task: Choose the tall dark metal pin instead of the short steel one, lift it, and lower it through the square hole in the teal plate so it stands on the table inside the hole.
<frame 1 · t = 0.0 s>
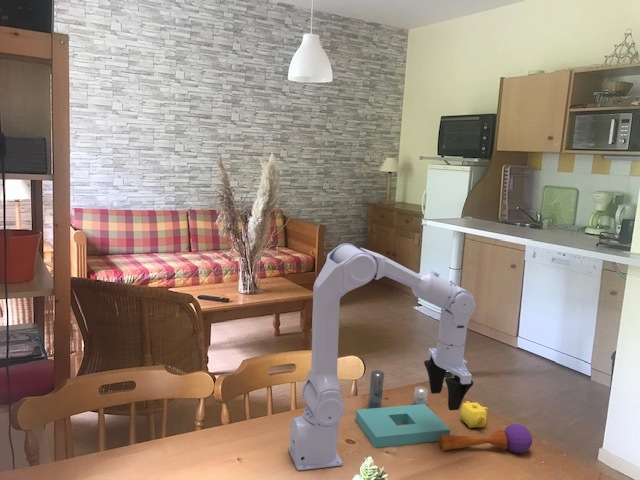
hand: (444, 400, 115), 10 cm above the table, tool pointing down, fingers open, 7 cm apart
teapot: (474, 425, 126), on the table
kendama: (484, 451, 115), on the table
short pin: (419, 405, 133), on the table
tall pin: (374, 407, 131), on the table
hole plate: (401, 429, 121), on the table
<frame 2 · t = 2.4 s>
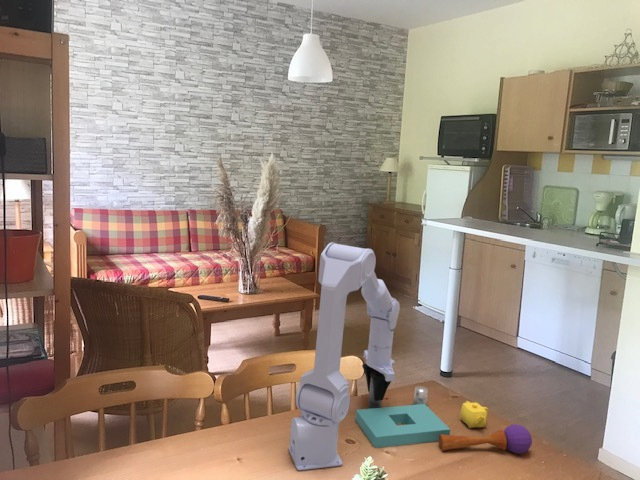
hand: (375, 396, 130), 3 cm above the table, tool pointing down, fingers closed on tall pin, 3 cm apart
tall pin: (374, 407, 131), on the table, touching gripper
everything else where it was.
when the fingers open (4 cm above the table, at t = 6.1 s): tall pin stays where it is, on the table.
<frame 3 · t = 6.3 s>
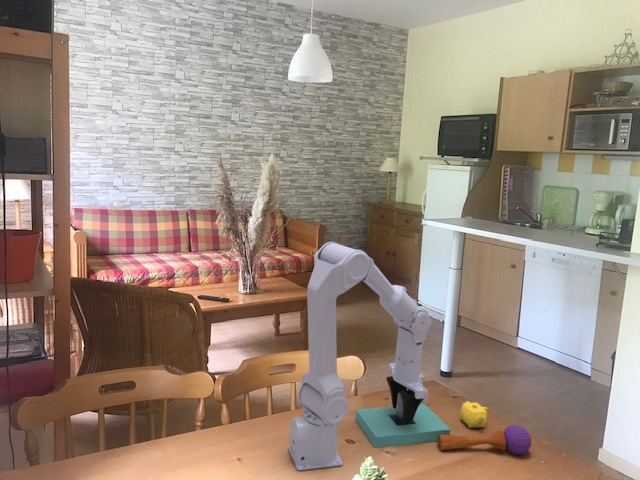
hand: (402, 413, 120), 4 cm above the table, tool pointing down, fingers open, 5 cm apart
tall pin: (401, 429, 121), on the table
everything else where it was.
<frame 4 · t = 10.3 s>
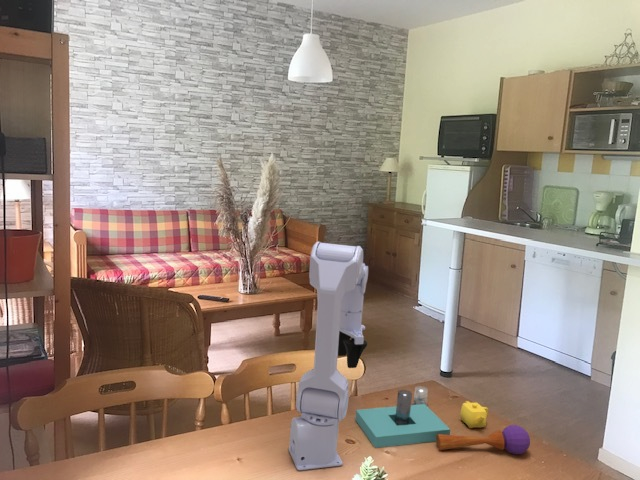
hand: (346, 361, 133), 10 cm above the table, tool pointing down, fingers open, 7 cm apart
nothing on the table moved.
at the end: tall pin 0.0 cm off-centre on the hole plate, point 0.0 cm above the hole plate's base; tall pin tilted 0°; short pin moved 0.0 cm from its start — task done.
